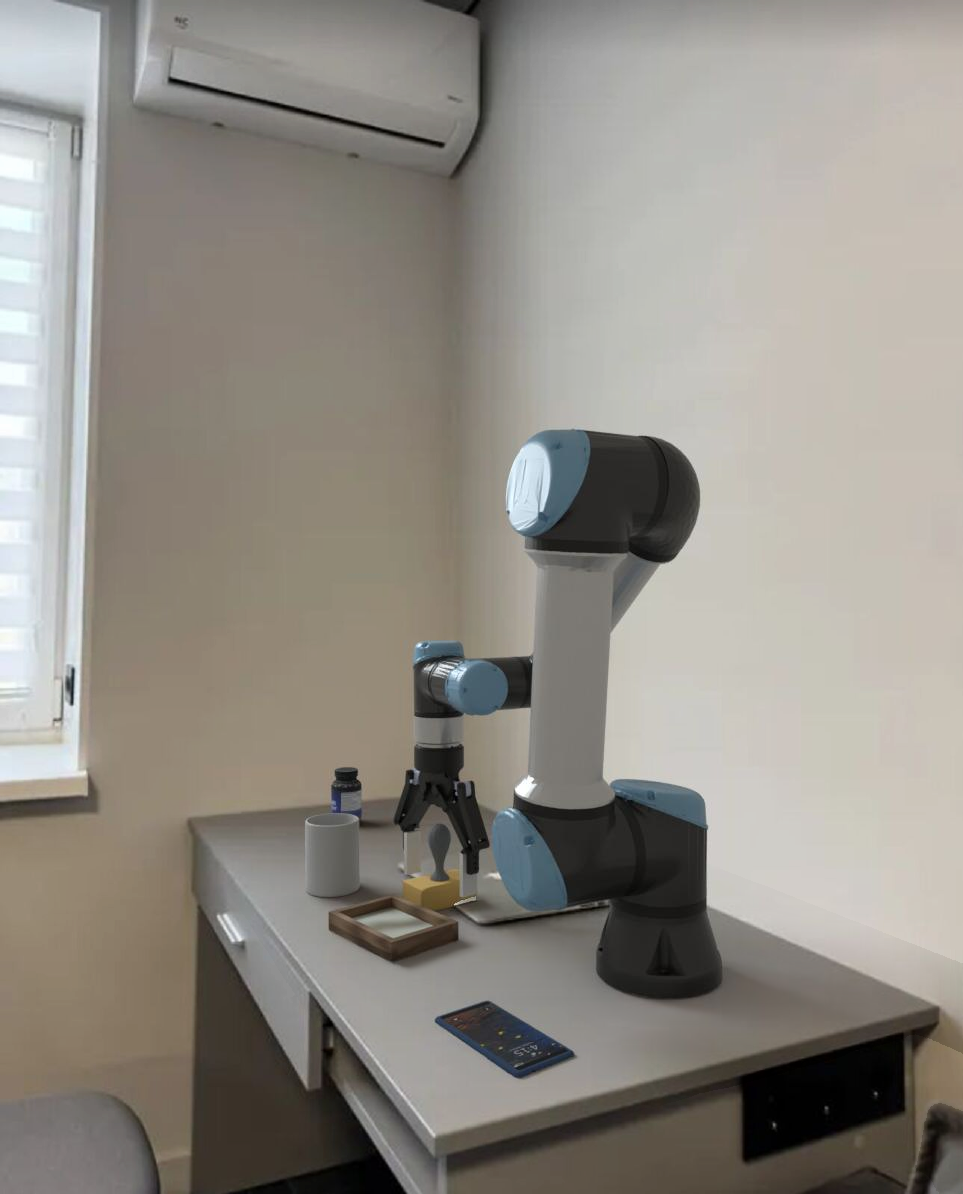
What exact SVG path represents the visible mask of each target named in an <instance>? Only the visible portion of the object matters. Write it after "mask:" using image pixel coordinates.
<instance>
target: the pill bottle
mask: <svg viewBox="0 0 963 1194" xmlns="http://www.w3.org/2000/svg"><path fill="white" fill-rule="evenodd" d="M358 775H359V769H358V768H357V767H354V766H352V767H351V766H345V767H343V766H342V767H338V768H335V769H334V777H335V779H334V781H332V783H331V785H330V786H331V787H330V788H331V789H330V791H331V793H330V796H331V797H330V798H331V799H330V802H331V803H330V804H331V805H330V810H331V811H330V812H331V813H344V814H351V815H355V816H357V817H358V818H359V825H360V824H361V823H362V818H363V817H362V813H363V811H362V809H363V808H362V805H363V804H362V795H363V794H362V782H361V781H360V779H358Z"/></svg>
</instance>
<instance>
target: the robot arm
mask: <svg viewBox="0 0 963 1194" xmlns="http://www.w3.org/2000/svg"><path fill="white" fill-rule="evenodd" d="M700 488H701V487H700V483H699V479H698V476H697V473H696V470H695V468H694V467H693V464H692V463H691V460H690V459H689V457H687V456H686V455H685V453H684V452H682V450H681V449H679V448H678V447H676V446H675V445H674V444H673V443H671V442H669V441H667V440H665V439H663V438H660V437H656V436H651V435H632V434H631V435H630V434H623V433H622V434H621V433H612V432H606V431H605V432H603V431H596V430H595V431H594V430H585V429H575V428H571V429H546V430H541V431H540V432H537V433H536V434H534V435H532V436H531V437H529V439H527V440H526V442H525V443H524V444H523V446H522V447H521V449H520V451H519V452H518V453H517V454H516V457H515V458H514V461H513V462H512V466H511V468H510V472H509V475H508V478H507V483H506V491H505V509H506V513H507V514H508V522H509V524H510V526H511V528H512V529H513V530H514V531H515V532H516V533H517V534H519V535H521V536H523V537H524V552H525V554H527V556H528V557H529V558H530V559H531V560H532V561H533V563H534V564H535V566H536V587H535V604H534V605H535V606H534V607H535V609H534V625H533V626H534V628H533V629H534V630H533V631H534V632H533V651H532V654H530V655H524V656H522V655H521V656H509V657H508V656H506V657H505V656H504V657H503V656H501V657H483V658H482V657H481V658H480V657H479V658H477V657H476V658H470V657H469V658H467V657H465V652H464V646H463V644H462V643H461V642H460V641H459V640H445V639H444V640H438V639H437V640H422V641H419V642H417V643H416V644H415V646H414V651H413V663H412V669H413V712H414V713H413V740H414V741H415V742H416V744H415V746H414V747H413V765H414V766H413V767H414V768H412V769H406V771H405V781H404V786H403V788H402V792H401V795H400V798H399V802H398V804H397V808H396V811H395V814H394V817H393V823H394V825H395V826H397V825H398V826H399V827H400V830H401V832H402V849H403V875H405V876H409V875H414V874H416V873H417V874H418V873H421V871H422V868H421V867H422V852H421V851H422V844H421V843H422V842H421V841H422V838H421V837H422V835H421V833H422V831H421V830H420V828H421V826H420V823H421V822H422V820H423V818H424V817H425V815H426V813H427V811H428V810H429V808H430V807H431V805H434V806H435V807H437V808H441V810H442V812H444V813H445V814H446V815H447V817H448V819H449V821H450V823H451V825H452V828H453V829H454V832H455V834H456V836H457V838H458V841H459V842H460V846H461V847H462V849H461V850H460V851H459V871H460V897H462V898H464V897H467V896H471V895H474V894H478V874H479V872H480V851H482V850H485V849H486V850H487V849H489V848H490V840H489V837H488V833H487V830H486V827H485V823H484V820H483V817H482V813H481V811H480V806H479V804H478V801H477V797H476V785H475V782H474V781H473V780H468V781H461V780H460V772H461V770H463V769H464V767H465V746H464V745H463V744H462V743H461V742H463V741H464V738H465V737H464V724H465V722H464V714H465V715H467V716H472V717H473V716H479V717H480V716H481V717H482V716H483V717H484V716H489V715H491V714H493V713H495V712H496V711H505V710H507V711H508V710H516V709H530V716H529V737H528V738H529V739H528V741H529V742H528V756H527V758H528V761H527V762H528V763H527V773H526V774H525V775H524V776H522V777H521V778H520V779H519V780H518V781H517V782H516V783H515V784H514V787H513V800H512V801H513V802H512V806H509V807H508V806H507V807H505V808H504V809H502V810H500V811H499V812H498V813H497V814H496V815H495V818H494V820H493V822H492V826H491V827H492V828H491V847H492V853H493V859H494V863H495V865H496V868H497V872H498V874H499V877H500V879H501V882H502V883H503V886H504V888H505V890H506V891H507V893H508V895H510V897H511V898H512V899H513V901H515V903H516V904H517V905H519V906H520V907H521V908H523V909H525V910H527V911H530V912H543V911H551V910H555V911H563V910H566V909H567V908H572V907H578V906H583V905H587V904H592V903H598V902H603V901H609V900H610V902H609V910H608V913H607V917H606V920H605V923H604V925H603V928H602V932H601V935H600V939H599V943H598V945H597V947H596V953H595V961H596V962H595V969H596V973H597V975H598V977H599V978H600V979H601V980H602V981H603V982H604V983H605V984H607V985H609V986H610V987H612V988H614V989H617V990H619V991H622V992H624V993H627V994H631V995H635V996H638V997H639V996H640V997H645V998H650V999H664V1000H665V999H667V1000H669V999H670V1000H673V999H674V1000H675V999H686V998H693V997H694V998H695V997H698V996H702V995H704V994H705V995H706V994H708V993H710V992H712V991H714V990H716V989H717V988H718V987H719V986H720V985H721V983H722V981H723V960H722V959H723V958H722V955H721V953H720V951H719V950H718V946H717V941H716V938H715V935H714V932H713V928H712V925H711V922H710V918H709V914H708V908H707V907H708V906H707V905H708V903H707V902H708V899H707V897H708V896H707V895H708V894H707V893H708V892H707V890H708V889H707V883H708V882H707V880H708V879H707V878H708V875H707V871H708V870H707V865H708V861H707V859H708V857H707V855H708V853H707V851H708V830H709V825H708V823H707V810H706V802H705V799H704V797H702V795H701V794H700V793H699V792H698V791H696V790H693V789H691V788H688V787H685V786H681V785H677V784H672V783H667V782H663V781H662V782H661V781H655V780H648V779H647V780H645V779H634V778H618V779H615V780H612V781H610V783H608V782H607V781H606V780H605V779H604V777H603V776H604V761H605V758H604V757H605V740H606V723H607V722H606V720H607V702H608V689H609V688H608V686H609V685H608V683H609V682H608V681H609V669H610V668H609V664H610V650H611V649H610V648H611V647H610V646H611V634H612V633H613V631H614V629H615V628H616V627H617V625H618V624H619V622H620V621H621V620H622V618H623V617H624V615H625V614H626V613H627V612H628V610H629V609H630V608H631V606H632V605H633V603H634V602H635V601H636V599H637V598H638V596H639V595H640V594H641V592H642V591H643V589H644V588H645V586H646V585H647V583H648V582H649V581H650V579H651V578H652V577H653V576H654V573H655V572H656V571H657V569H659V567H660V566H661V565H665V564H669V563H672V561H674V560H675V559H676V557H677V556H678V554H679V553H680V552H681V550H682V549H683V548H684V547H685V545H686V544H687V542H688V540H689V538H690V537H691V535H692V533H693V531H694V529H695V526H696V524H697V520H698V516H699V513H700V508H701V489H700Z"/></svg>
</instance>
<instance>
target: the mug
mask: <svg viewBox="0 0 963 1194" xmlns="http://www.w3.org/2000/svg"><path fill="white" fill-rule="evenodd" d="M304 839H305V840H304V842H305V845H304V847H305V849H304V851H305V852H304V853H305V854H304V855H305V859H304V860H305V864H304V865H305V867H304V868H305V869H304V870H305V874H304V875H305V878H304V881H305V882H304V883H305V884H304V885H305V891H306V893H307V894H309V895H311V896H314V897H320V898H338V897H344V896H348V895H351V894H354V893H355V892H357V891H359V889H360V885H361V877H360V876H361V875H360V873H361V872H360V824H359V818H358V817H357V816H355V815H351V814H344V813H322V814H318V815H317V814H316V815H312V816H310V817H308V818H306V819H305V822H304Z"/></svg>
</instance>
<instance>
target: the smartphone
mask: <svg viewBox="0 0 963 1194" xmlns="http://www.w3.org/2000/svg"><path fill="white" fill-rule="evenodd" d="M434 1023H435V1024H437V1025H438V1026H440V1027H441V1028H443V1029H444V1030H446V1032H448V1033H449V1034H450V1035H453V1036H454V1037H456V1038H457V1039H459V1041H461V1042H463V1043H465V1044H466V1045H467V1046H469V1047H470V1048H472V1049H473V1050H474V1051H476V1052H477V1053H479V1054H480V1055H482V1056H483V1057H484V1058H485V1059H487V1060H489V1062H491V1063H493V1064H494V1065H496V1066H497V1067H498V1068H500V1069H501V1070H503V1071H504V1072H506V1073H507V1074H509V1075H511V1076H512V1077H514V1078H516V1079H522V1078H524V1077H526V1076H529V1075H532V1074H533V1073H537V1072H539V1071H542V1070H544V1069H547V1068H550V1067H552V1066H555V1065H557V1064H559V1063H561V1062H564V1061H567V1060H569V1059H572V1058H574V1056H575V1053H574V1051H573V1050H572V1049H570V1048H568V1047H567V1046H565V1045H564V1044H562V1043H560V1042H559V1041H557V1040H555V1039H553V1038H552V1037H551V1036H548V1035H547V1034H545V1033H544V1032H542V1031H540V1030H539V1029H537V1028H535V1027H533V1026H532V1025H531V1024H529V1023H528V1022H525V1021H523V1020H522V1019H520V1018H519V1017H518V1016H516V1015H513V1014H512V1013H511V1012H509V1011H507V1010H505V1009H504V1008H502V1007H500V1006H499V1005H497V1004H496V1003H494V1002H492V1001H490V1000H485V1001H480V1002H478V1003H475V1004H471V1005H469V1006H466V1007H463V1008H459V1009H457V1010H453V1011H451V1012H447V1013H444V1014H442V1015H439V1016H436V1017H435V1018H434ZM532 1072H533V1073H532Z"/></svg>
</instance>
